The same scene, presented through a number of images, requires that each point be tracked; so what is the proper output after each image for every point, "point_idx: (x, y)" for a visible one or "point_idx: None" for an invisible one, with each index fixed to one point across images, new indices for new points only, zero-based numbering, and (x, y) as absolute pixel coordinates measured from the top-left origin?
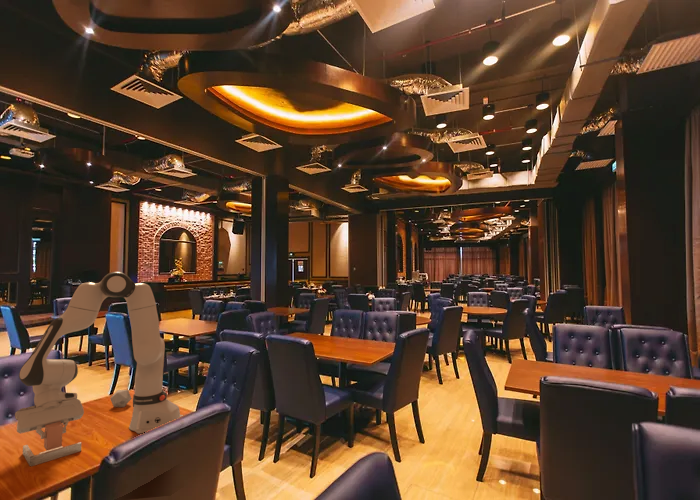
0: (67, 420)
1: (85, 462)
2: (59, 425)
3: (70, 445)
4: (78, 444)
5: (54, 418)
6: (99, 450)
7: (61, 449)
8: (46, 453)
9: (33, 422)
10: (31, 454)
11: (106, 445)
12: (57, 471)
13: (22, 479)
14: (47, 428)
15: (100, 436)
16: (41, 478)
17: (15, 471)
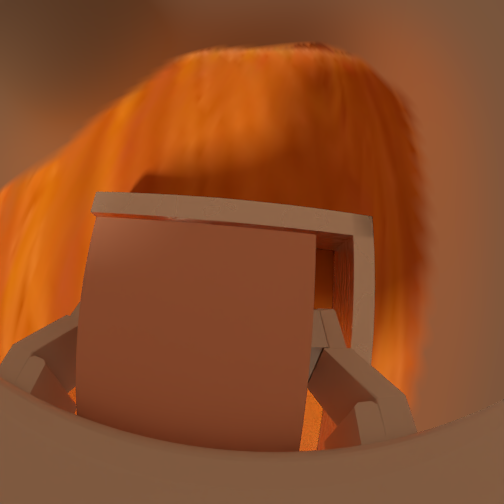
0: (9, 361)
1: (174, 90)
2: (136, 230)
3: (146, 206)
4: (112, 193)
5: (124, 487)
6: (82, 154)
7: (204, 198)
8: (292, 206)
9: (491, 460)
10: (362, 271)
11: (43, 184)
12: (272, 96)
13: (379, 140)
14: (312, 277)
15: (6, 321)
16: (326, 95)
17: (400, 239)
